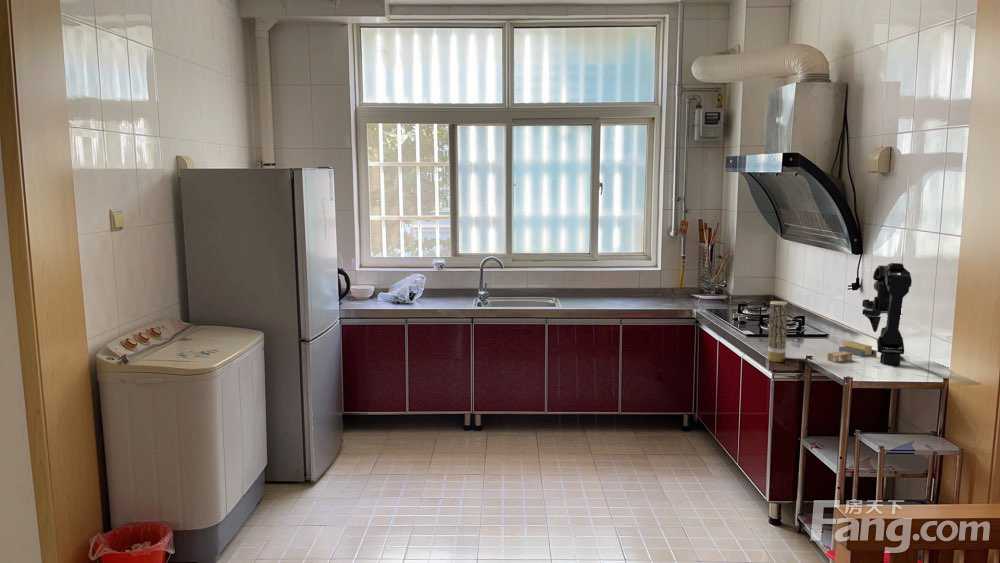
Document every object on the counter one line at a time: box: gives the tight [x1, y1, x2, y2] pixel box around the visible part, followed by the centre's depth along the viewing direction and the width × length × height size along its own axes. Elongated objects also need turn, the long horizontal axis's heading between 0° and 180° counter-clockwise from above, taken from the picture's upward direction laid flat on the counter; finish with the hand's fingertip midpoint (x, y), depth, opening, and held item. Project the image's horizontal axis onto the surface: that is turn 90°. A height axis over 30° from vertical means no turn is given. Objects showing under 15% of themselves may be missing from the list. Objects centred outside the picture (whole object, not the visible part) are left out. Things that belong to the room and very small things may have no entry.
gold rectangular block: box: [842, 340, 873, 355], centre depth 302 cm, size 12×4×4 cm, turn 19°
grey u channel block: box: [838, 345, 878, 358], centre depth 302 cm, size 12×8×4 cm
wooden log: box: [767, 300, 788, 363], centre depth 293 cm, size 7×7×25 cm
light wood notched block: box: [826, 351, 853, 364], centre depth 287 cm, size 4×9×5 cm, turn 109°
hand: (882, 331), depth 297 cm, fingers open, 9 cm apart
